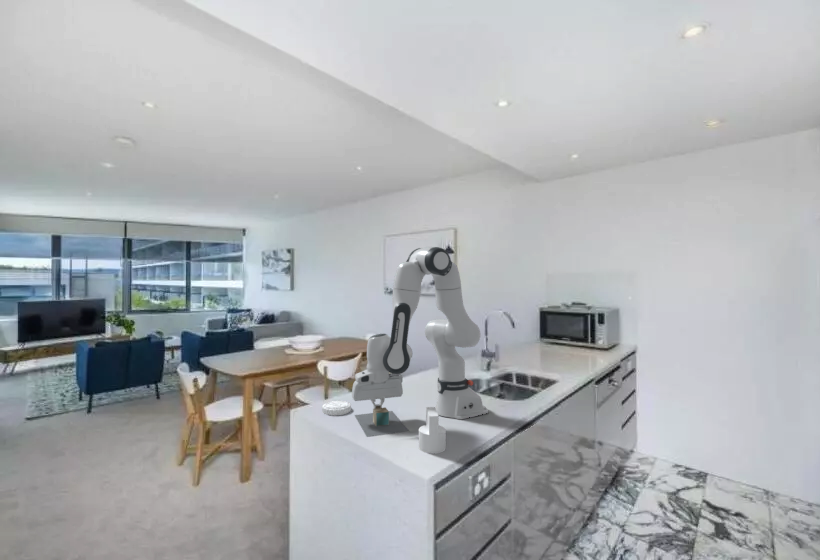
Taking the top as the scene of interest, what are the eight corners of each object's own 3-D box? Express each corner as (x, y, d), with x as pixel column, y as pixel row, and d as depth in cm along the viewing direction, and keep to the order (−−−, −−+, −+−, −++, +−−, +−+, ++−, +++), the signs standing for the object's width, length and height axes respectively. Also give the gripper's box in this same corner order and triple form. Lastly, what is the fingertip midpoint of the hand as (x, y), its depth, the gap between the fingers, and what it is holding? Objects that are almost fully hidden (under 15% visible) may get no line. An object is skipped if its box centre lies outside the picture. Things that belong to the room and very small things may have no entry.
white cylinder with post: (417, 442, 132) (417, 407, 132) (443, 441, 132) (443, 406, 132) (420, 453, 123) (420, 416, 123) (447, 453, 123) (447, 416, 123)
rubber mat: (391, 412, 162) (391, 410, 162) (409, 432, 140) (409, 431, 140) (354, 416, 156) (354, 415, 156) (366, 438, 135) (366, 436, 135)
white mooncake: (356, 411, 164) (356, 402, 164) (337, 419, 154) (337, 410, 154) (336, 406, 170) (336, 398, 170) (316, 414, 160) (316, 405, 160)
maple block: (385, 407, 151) (388, 411, 146) (385, 420, 151) (388, 424, 146) (373, 408, 149) (376, 413, 144) (373, 421, 149) (376, 426, 144)
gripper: (400, 371, 159) (400, 404, 159) (351, 374, 152) (351, 409, 152) (405, 374, 153) (404, 409, 153) (354, 378, 146) (354, 414, 146)
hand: (377, 409), depth 152 cm, fingers closed
